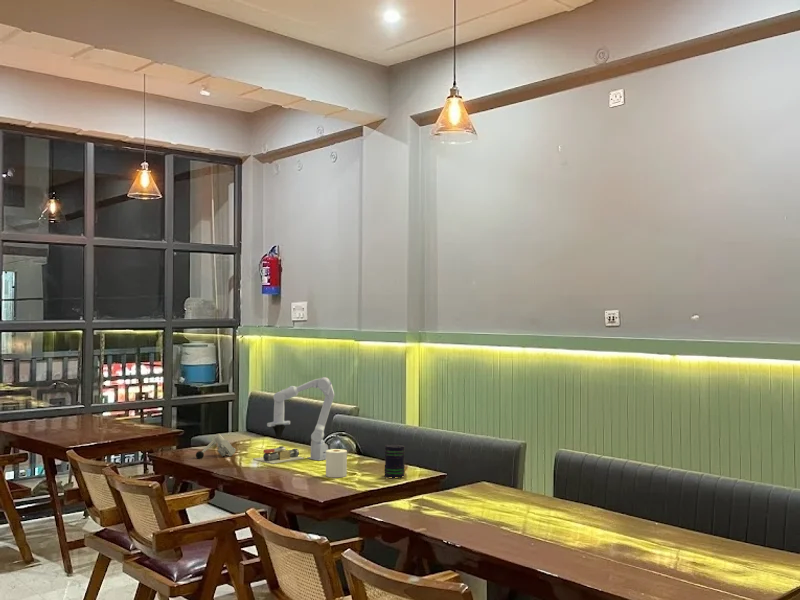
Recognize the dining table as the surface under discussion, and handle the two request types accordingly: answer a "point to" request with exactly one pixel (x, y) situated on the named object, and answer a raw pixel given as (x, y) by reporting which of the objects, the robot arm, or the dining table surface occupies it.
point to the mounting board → (278, 460)
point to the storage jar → (394, 460)
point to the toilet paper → (336, 463)
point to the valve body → (281, 455)
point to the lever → (275, 449)
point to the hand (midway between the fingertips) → (278, 438)
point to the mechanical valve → (222, 443)
